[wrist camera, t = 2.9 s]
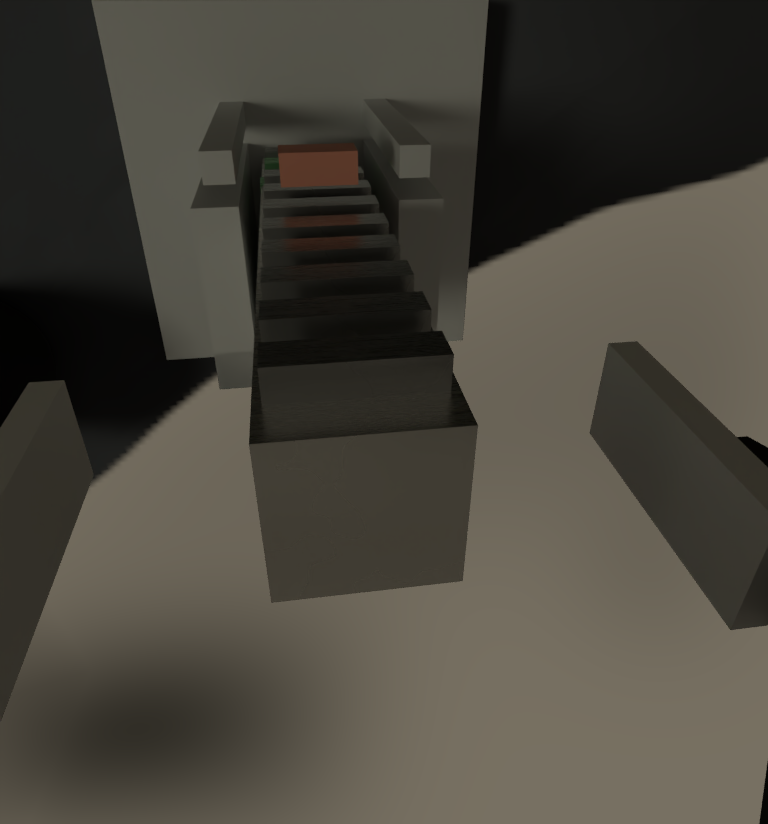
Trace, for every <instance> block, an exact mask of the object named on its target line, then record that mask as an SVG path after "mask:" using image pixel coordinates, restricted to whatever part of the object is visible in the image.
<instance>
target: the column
mask: <svg viewBox="0 0 768 824" xmlns="http://www.w3.org/2000/svg"><path fill="white" fill-rule="evenodd" d="M260 191H261V203H260V225H259V246H258V267H257V288H256V310H255V331H254V352H253V373H252V394H251V395H252V396H251V417H250V438H249V446H250V454H251V461H252V468H253V475H254V482H255V489H256V497H257V503H258V511H259V517H260V524H261V532H262V539H263V545H264V553H265V560H266V567H267V574H268V580H269V588H270V596H271V602H272V603H273V602H281V601H290V600H299V599H307V598H316V597H325V596H334V595H343V594H352V593H360V592H370V591H378V590H387V589H396V588H404V587H414V586H422V585H431V584H440V583H448V582H457V581H462V580H463V571H464V561H465V551H466V541H467V531H468V521H469V510H470V500H471V490H472V480H473V470H474V459H475V449H476V439H477V428H478V425H477V422H476V420H475V418H474V416H473V414H472V412H471V410H470V408H469V405H468V403H467V401H466V399H465V397H464V395H463V393H462V391H461V388H460V386H459V384H458V382H457V380H456V378H455V376H454V373H453V358H454V354H453V352H452V350H451V348H450V346H449V344H448V342H447V340H446V338H445V336H444V334H443V332H442V331H433V329H432V327H431V313H432V309H431V307H430V305H429V303H428V301H427V299H426V297H425V295H424V293H423V291H416V292H415V290H414V273H413V271H412V269H411V267H410V265H409V263H408V261H407V260H400V245H399V243H398V241H397V239H396V237H395V235H394V234H389V222H388V220H387V218H386V216H385V214H384V213H379V202H378V200H377V198H376V196H375V195H371V186H370V184H369V182H368V180H364V172H363V170H362V168H361V167H358V185H336V186H309V187H282V188H281V181H280V169H279V157H278V147H265V158H263V161H262V177H260Z"/></svg>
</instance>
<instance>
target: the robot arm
mask: <svg viewBox="0 0 768 824" xmlns="http://www.w3.org/2000/svg"><path fill="white" fill-rule="evenodd" d="M590 434H591V435H592V437H593V438H594V440H595V441H596V443H597V444H598V445H599V447H600V448H601V450H602V451H603V452H604V453H605V455H606V457H607V458H608V459H609V461H610V462H611V464H612V465H613V466H614V468H615V469H616V470H617V472H618V473H619V475H620V476H621V477H622V479H623V480H624V482H625V483H626V484H627V486H628V487H629V489H630V490H631V492H632V493H633V494H634V496H635V497H636V499H637V500H638V501H639V503H640V504H641V505H642V507H643V508H644V510H645V511H646V512H647V514H648V515H649V517H650V518H651V520H652V521H653V522H654V524H655V525H656V527H657V528H658V529H659V531H660V532H661V534H662V535H663V536H664V538H665V539H666V540H667V542H668V543H669V545H670V546H671V548H672V549H673V550H674V552H675V553H676V555H677V556H678V557H679V559H680V560H681V561H682V563H683V564H684V566H685V567H686V569H687V570H688V571H689V573H690V574H691V575H692V577H693V578H694V580H695V581H696V583H697V584H698V585H699V587H700V588H701V590H702V591H703V592H704V594H705V595H706V597H707V598H708V599H709V600H710V602H711V604H712V605H713V606H714V608H715V609H716V610H717V612H718V613H719V615H720V616H721V618H722V619H723V620H724V622H725V623H726V625H727V626H728V627H729V629H730V630H734V629H742V628H750V627H758V626H766V625H768V448H767V447H766V446H764V445H762V444H760V443H758V442H756V441H754V440H753V439H751V438H749V437H736V436H735V435H734V434H733V433H732V432H731V431H730V430H728V429H727V428H726V427H725V426H724V425H723V424H722V423H721V422H720V421H719V420H718V419H717V418H716V417H715V416H714V415H713V414H712V413H711V412H710V411H709V410H708V409H707V408H706V407H705V406H704V405H703V404H702V403H700V402H699V401H698V400H697V399H696V398H695V397H694V396H693V395H692V394H691V393H690V392H689V391H688V390H687V389H686V388H685V387H684V386H683V385H682V384H681V383H680V382H679V381H678V380H677V379H676V378H674V376H672V375H671V374H670V373H669V372H668V371H667V370H666V369H665V368H664V367H663V366H662V365H661V364H660V363H659V362H658V361H657V360H656V359H655V358H653V356H652V355H651V354H650V353H649V352H648V351H646V350H645V349H644V348H643V347H642V346H641V345H640V344H639V343H638V342H622V343H609V344H608V348H607V353H606V358H605V363H604V368H603V373H602V377H601V382H600V386H599V391H598V396H597V401H596V406H595V410H594V415H593V420H592V425H591V429H590ZM92 478H93V471H92V468H91V465H90V462H89V459H88V455H87V452H86V449H85V446H84V442H83V439H82V436H81V433H80V430H79V426H78V423H77V420H76V417H75V414H74V410H73V407H72V404H71V401H70V397H69V394H68V391H67V388H66V385H65V381H64V380H59V381H44V382H29V383H28V385H27V386H26V388H25V389H24V391H23V393H22V394H21V396H20V397H19V399H18V400H17V402H16V404H15V405H14V407H13V408H12V410H11V412H10V413H9V415H8V416H7V418H6V419H5V421H4V423H3V424H2V426H1V427H0V721H1V719H2V717H3V714H4V712H5V709H6V706H7V704H8V701H9V698H10V696H11V693H12V690H13V688H14V685H15V682H16V680H17V677H18V674H19V672H20V669H21V666H22V664H23V661H24V658H25V656H26V653H27V651H28V648H29V645H30V642H31V640H32V637H33V635H34V632H35V629H36V626H37V624H38V621H39V619H40V616H41V613H42V611H43V608H44V605H45V603H46V600H47V597H48V595H49V592H50V589H51V587H52V584H53V581H54V579H55V576H56V573H57V571H58V568H59V565H60V563H61V560H62V557H63V555H64V552H65V549H66V547H67V544H68V542H69V539H70V536H71V533H72V530H73V528H74V526H75V523H76V520H77V518H78V515H79V512H80V510H81V507H82V504H83V501H84V499H85V496H86V494H87V491H88V488H89V486H90V483H91V480H92ZM760 824H768V763H767V771H766V778H765V786H764V793H763V801H762V809H761V816H760Z"/></svg>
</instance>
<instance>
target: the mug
mask: <svg viewBox="0 0 768 824" xmlns="http://www.w3.org/2000/svg"><path fill="white" fill-rule="evenodd" d="M44 381H56V368H55V361H54V357H53V354H52V351H51V348H50V346H49V344H48V342H47V340H46V338H45V336H44V335H43V333H42V332H41V331H40V330H39V328H38V327H37V326H36V325H35V324H34V323H33V322H32V321H31V320H30V319H29V318H27V317H26V316H25V315H23V314H22V313H20V312H19V311H17V310H16V309H14V308H12V307H10V306H8V305H6V304H3V303H1V302H0V427H1V426H2V424H3V423H4V421H5V419H6V418H7V416H8V415H9V413H10V412H11V410H12V408H13V407H14V405H15V404H16V402H17V400H18V399H19V397H20V396H21V394H22V393H23V391H24V389H25V388H26V386H27V385H28V383H29V382H44Z"/></svg>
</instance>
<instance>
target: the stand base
mask: <svg viewBox="0 0 768 824" xmlns="http://www.w3.org/2000/svg"><path fill="white" fill-rule="evenodd" d="M488 1H489V0H92V5H93V9H94V14H95V19H96V24H97V29H98V33H99V38H100V43H101V48H102V52H103V57H104V62H105V67H106V72H107V76H108V81H109V86H110V91H111V95H112V100H113V105H114V110H115V114H116V119H117V124H118V129H119V134H120V138H121V143H122V148H123V153H124V157H125V162H126V167H127V172H128V176H129V181H130V186H131V191H132V196H133V200H134V205H135V210H136V215H137V219H138V224H139V229H140V234H141V239H142V243H143V248H144V253H145V258H146V262H147V267H148V272H149V277H150V281H151V286H152V291H153V296H154V301H155V305H156V310H157V315H158V320H159V324H160V329H161V334H162V339H163V344H164V348H165V353H166V358H167V360H175V359H189V358H204V357H215V363H216V369H217V375H218V381H219V388H220V389H230V388H244V387H252V373H253V352H254V331H255V310H256V288H257V267H258V246H259V225H260V203H261V191H260V177H262V161H263V158H265V147H278V157H279V169H280V181H281V188H282V187H309V186H336V185H358V167H361V168H362V170H363V172H364V180H368V182H369V184H370V186H371V195H375V196H376V198H377V200H378V202H379V213H384V214H385V216H386V218H387V220H388V222H389V234H394V235H395V237H396V239H397V241H398V243H399V245H400V260H407V261H408V263H409V265H410V267H411V269H412V271H413V273H414V290H415V292H416V291H423V293H424V295H425V297H426V299H427V301H428V303H429V305H430V307H431V309H432V313H431V327H432V329H433V331H442V332H443V334H444V336H445V338H446V340H447V341H457V340H463V330H464V317H465V304H466V290H467V278H468V265H469V251H470V238H471V225H472V212H473V199H474V185H475V172H476V159H477V146H478V133H479V119H480V106H481V93H482V80H483V67H484V54H485V40H486V27H487V14H488Z"/></svg>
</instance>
